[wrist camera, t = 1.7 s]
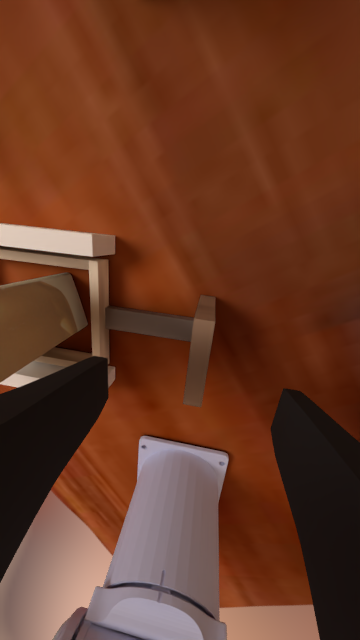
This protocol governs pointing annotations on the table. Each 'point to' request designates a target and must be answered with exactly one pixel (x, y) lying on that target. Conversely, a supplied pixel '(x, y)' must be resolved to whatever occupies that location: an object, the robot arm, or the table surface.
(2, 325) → the skincare box
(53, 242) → the shelf
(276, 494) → the table surface
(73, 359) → the carriage
